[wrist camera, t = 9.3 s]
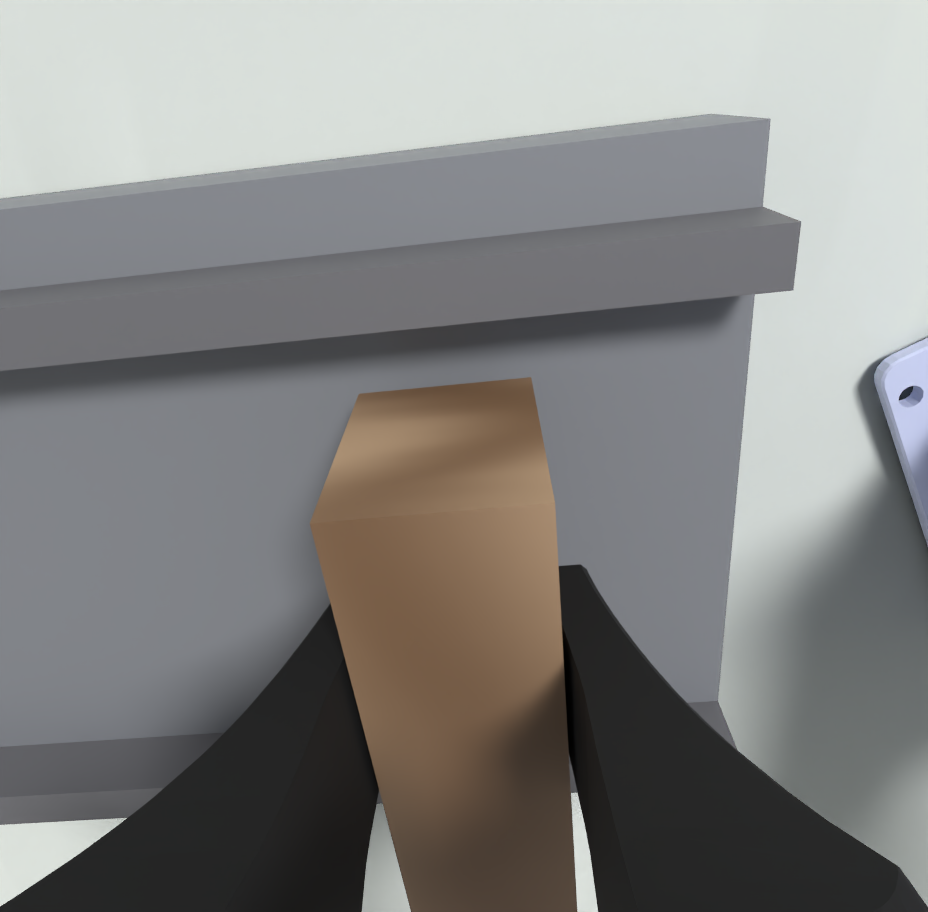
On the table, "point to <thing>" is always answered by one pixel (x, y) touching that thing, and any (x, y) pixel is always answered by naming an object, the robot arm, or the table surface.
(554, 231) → the channel board
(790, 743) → the table surface
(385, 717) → the bar
